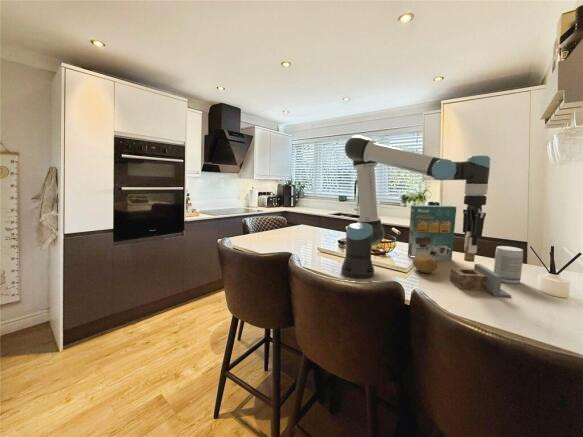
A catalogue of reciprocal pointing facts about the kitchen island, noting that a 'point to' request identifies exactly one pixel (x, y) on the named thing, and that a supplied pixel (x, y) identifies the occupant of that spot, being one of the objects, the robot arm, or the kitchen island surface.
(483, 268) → the bracket
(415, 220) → the cake mix box
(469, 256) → the dowel
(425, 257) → the potato
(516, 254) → the supplement tub
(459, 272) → the block
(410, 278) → the kitchen island surface
